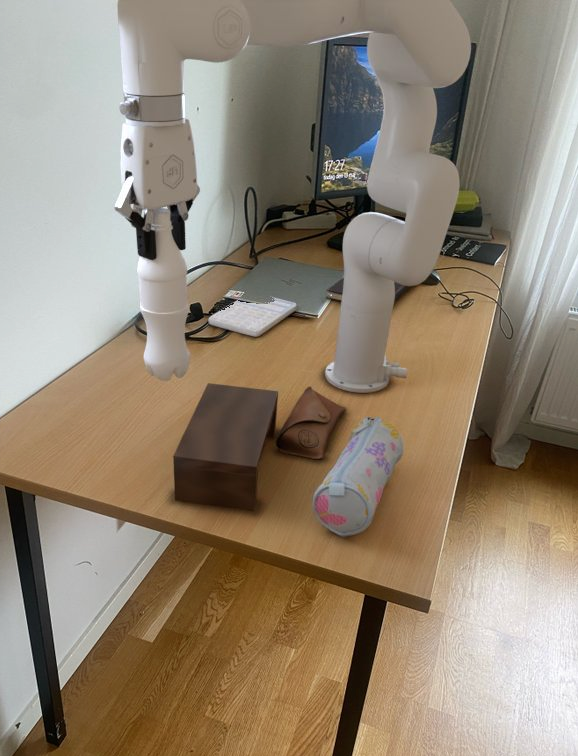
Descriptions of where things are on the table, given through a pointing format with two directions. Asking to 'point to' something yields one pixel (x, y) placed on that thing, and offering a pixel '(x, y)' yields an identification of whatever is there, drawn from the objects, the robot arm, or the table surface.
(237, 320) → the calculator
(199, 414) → the wooden block
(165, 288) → the water bottle
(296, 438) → the sunglasses case
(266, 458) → the table surface
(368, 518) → the pencil case
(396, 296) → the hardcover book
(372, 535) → the table surface
